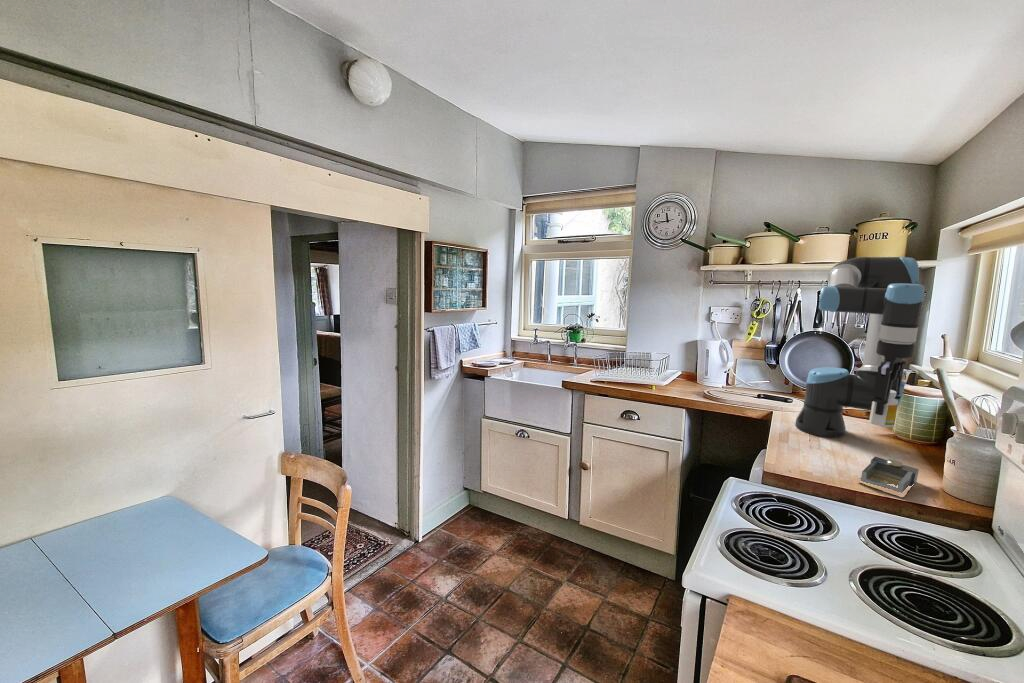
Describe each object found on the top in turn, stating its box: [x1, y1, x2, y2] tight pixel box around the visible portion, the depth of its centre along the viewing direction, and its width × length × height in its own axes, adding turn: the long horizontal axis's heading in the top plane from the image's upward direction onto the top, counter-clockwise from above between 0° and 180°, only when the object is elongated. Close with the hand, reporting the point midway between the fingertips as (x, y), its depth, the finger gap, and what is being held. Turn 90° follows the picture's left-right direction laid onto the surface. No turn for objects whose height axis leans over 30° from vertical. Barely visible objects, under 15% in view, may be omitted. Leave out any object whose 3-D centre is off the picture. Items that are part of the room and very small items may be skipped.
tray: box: [859, 456, 920, 493], centre depth 124 cm, size 14×10×5 cm
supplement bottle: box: [868, 390, 899, 428], centre depth 121 cm, size 5×5×10 cm
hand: (881, 422), depth 122 cm, fingers closed on supplement bottle, 5 cm apart
